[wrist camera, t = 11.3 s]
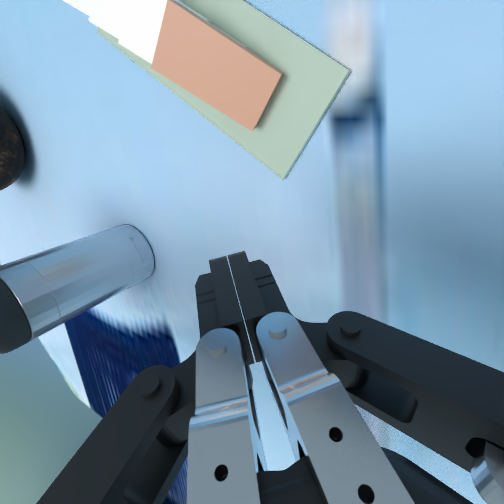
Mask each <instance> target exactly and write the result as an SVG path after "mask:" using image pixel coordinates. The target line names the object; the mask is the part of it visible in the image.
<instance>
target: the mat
mask: <svg viewBox="0 0 504 504" xmlns="http://www.w3.org/2000/svg"><path fill="white" fill-rule="evenodd" d="M179 1H180V2H182V3H184V4H185V5H187V6H188V7H190V8H191V9H193V10H195V11H196V12H198V13H199V14H201V15H202V16H204V17H206V18H207V19H209V20H210V21H211V24H213V25H214V26H216V27H217V28H219V29H220V30H222V31H223V32H225V33H226V34H228V35H229V36H231V37H232V38H234V39H235V40H237V41H238V42H240V43H241V44H243V45H244V46H246V48H247V49H249V50H250V51H252V52H253V53H255V54H256V55H258V56H259V57H261V58H262V59H264V60H265V61H267V62H268V63H270V64H271V65H273V66H274V67H276V68H277V69H279V70H280V71H282V72H283V75H282V77H281V79H280V81H279V83H278V85H277V87H276V89H275V91H274V93H273V95H272V97H271V99H270V101H269V103H268V105H267V106H266V108H265V110H264V112H263V114H262V116H261V118H260V120H259V122H258V124H257V126H256V128H255V129H254V130H253V131H251V130H249V129H247V128H246V127H244V126H243V125H241V124H239V123H238V122H236V121H235V120H233V119H231V118H230V117H228V116H227V115H225V114H223V113H222V112H220V111H219V110H217V109H215V108H214V107H212V106H211V105H209V104H207V103H206V102H204V101H203V100H201V99H199V98H198V97H196V96H195V95H193V94H191V93H190V92H188V91H187V90H185V89H183V88H182V87H180V86H179V85H177V84H176V83H174V82H172V81H171V80H169V79H168V78H166V77H164V76H163V75H161V74H160V73H158V72H156V71H155V70H153V69H152V68H151V66H152V64H151V63H149V62H147V61H146V60H144V59H143V58H141V57H139V56H138V55H136V54H135V53H133V52H131V51H130V50H128V49H127V48H125V47H123V46H122V45H120V44H118V42H119V39H118V38H116V37H114V36H113V35H111V34H109V33H108V32H106V31H104V30H103V29H101V28H99V27H98V34H100V35H101V36H102V37H103V38H105V39H106V40H107V41H109V42H110V43H111V44H112V45H114V46H115V47H116V48H117V49H119V50H120V51H121V52H122V53H124V54H125V55H126V56H127V57H129V58H130V59H131V60H132V61H134V62H135V63H136V64H138V65H139V66H140V67H141V68H143V69H144V70H145V71H146V72H148V73H149V74H150V75H151V76H153V77H154V78H155V79H156V80H158V81H159V82H160V83H162V84H163V85H164V86H165V87H167V88H168V89H169V90H170V91H172V92H173V93H174V94H175V95H177V96H178V97H179V98H180V99H182V100H183V101H184V102H185V103H187V104H188V105H189V106H191V107H192V108H193V109H194V110H196V111H197V112H198V113H199V114H201V115H202V116H203V117H204V118H206V119H207V120H208V121H209V122H211V123H212V124H213V125H215V126H216V127H217V128H218V129H220V130H221V131H222V132H223V133H225V134H226V135H227V136H228V137H230V138H231V139H232V140H233V141H235V142H236V143H237V144H239V145H240V146H241V147H242V148H244V149H245V150H246V151H247V152H249V153H250V154H251V155H252V156H254V157H255V158H256V159H257V160H259V161H260V162H261V163H262V164H264V165H265V166H266V167H268V168H269V169H270V170H271V171H273V172H274V173H275V174H276V175H278V176H279V177H280V178H281V179H286V177H287V175H288V174H289V172H290V171H291V169H292V167H293V166H294V164H295V162H296V161H297V159H298V158H299V156H300V154H301V153H302V151H303V149H304V148H305V146H306V144H307V143H308V141H309V140H310V138H311V136H312V135H313V133H314V131H315V130H316V128H317V127H318V125H319V123H320V122H321V120H322V118H323V117H324V115H325V113H326V112H327V110H328V109H329V107H330V105H331V104H332V102H333V100H334V99H335V97H336V95H337V94H338V92H339V91H340V89H341V87H342V86H343V84H344V82H345V81H346V79H347V78H348V76H349V74H350V73H351V71H350V70H348V69H347V68H345V67H344V66H342V65H341V64H339V63H338V62H336V61H335V60H333V59H332V58H330V57H329V56H327V55H326V54H324V53H323V52H321V51H320V50H318V49H317V48H315V47H314V46H312V45H310V44H309V43H307V42H306V41H304V40H303V39H301V38H300V37H298V36H297V35H295V34H294V33H292V32H291V31H289V30H288V29H286V28H285V27H283V26H282V25H280V24H279V23H277V22H276V21H274V20H273V19H271V18H270V17H268V16H267V15H265V14H263V13H262V12H260V11H259V10H257V9H256V8H254V7H253V6H251V5H250V4H248V3H247V2H245V1H244V0H179Z"/></svg>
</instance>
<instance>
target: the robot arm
mask: <svg viewBox="0 0 504 504" xmlns="http://www.w3.org/2000/svg"><path fill="white" fill-rule="evenodd" d="M228 259H229V263H230V267H231V271H232V275H233V279H234V283H235V286H236V290H237V294H238V298H239V301H240V305H241V309H242V312H243V316H244V320H245V323H246V327H247V330H248V334H249V338H250V341H251V345H252V349H253V352H254V356H255V360H256V362H259V361H262V363H263V367H264V370H265V374H266V378H267V382H268V385H269V387H270V390H271V393H272V395H273V398H274V401H275V403H276V406H277V408H278V411H279V414H280V416H281V419H282V422H283V424H284V427H285V430H286V432H287V435H288V438H289V441H290V444H291V448H292V451H293V454H294V457H295V460H296V462H295V463H294V464H293V465H291V466H290V467H289V468H287V469H285V470H282V471H268V469H267V464H266V459H265V454H264V450H263V445H262V439H261V433H260V427H259V421H258V414H257V408H256V402H255V396H254V390H253V385H252V384H253V379H252V374H251V370H250V366H249V365H250V364H253V363H254V359H253V355H252V351H251V348H250V344H249V340H248V336H247V332H246V328H245V324H244V320H243V317H242V313H241V309H240V306H239V302H238V298H237V294H236V291H235V287H234V283H233V280H232V276H231V272H230V268H229V265H228V261H227V257H226V256H224V257H220V258H216V259H212V260H209V264H210V269H211V273H208V274H204V275H200V276H199V278H198V280H197V282H196V285H195V289H196V299H197V309H198V319H199V329H200V340H199V342H198V344H197V347H196V350H195V352H194V353H193V354H192V355H191V356H190V357H189V358H188V359H186V360H185V361H183V362H182V363H180V364H178V365H177V366H175V367H174V368H172V369H170V368H168V367H167V366H163V365H155V366H151V367H149V368H147V369H145V370H143V371H142V372H140V373H139V374H138V375H137V376H136V377H135V378H134V379H133V380H132V382H131V383H130V384H129V386H128V387H127V388H126V389H125V391H124V392H123V393H122V395H121V396H120V397H119V398H118V400H117V401H116V402H115V404H114V405H113V406H112V407H111V409H110V410H109V411H108V413H107V414H106V415H105V416H104V418H103V419H102V420H101V421H100V423H99V424H98V425H97V427H96V428H95V429H94V430H93V432H92V433H91V434H90V436H89V437H88V438H87V440H86V441H85V442H84V444H83V445H82V446H81V447H80V448H79V450H78V451H77V452H76V454H75V455H74V456H73V457H72V459H71V460H70V461H69V462H68V464H67V465H66V466H65V468H64V469H63V470H62V471H61V473H60V474H59V476H58V477H57V478H56V479H55V480H54V482H53V483H52V484H51V486H50V487H49V488H48V489H47V491H46V492H45V493H44V495H43V496H42V497H41V498H40V500H39V501H38V502H37V504H162V503H163V501H164V499H165V497H166V495H167V493H168V491H169V489H170V488H171V486H172V484H173V482H174V480H175V478H176V476H177V474H178V472H179V471H180V469H181V467H182V465H183V463H184V461H185V459H186V457H187V455H188V477H187V504H473V503H472V502H470V501H469V500H467V499H466V498H464V497H463V496H461V495H460V494H459V493H457V492H456V491H454V490H453V489H451V488H450V487H448V486H447V485H445V484H444V483H442V482H441V481H439V480H438V479H437V478H435V477H434V476H432V475H431V474H429V473H428V472H426V471H425V470H423V469H422V468H420V467H419V466H418V465H416V464H415V463H413V462H412V461H410V460H408V459H407V458H405V457H403V456H402V455H400V454H398V453H396V452H394V451H391V450H389V449H386V448H383V447H380V446H379V444H378V442H377V441H376V439H375V437H374V436H373V434H372V432H371V431H370V429H369V427H368V426H367V424H366V422H365V421H364V419H363V418H362V416H361V414H360V413H359V411H358V409H357V408H356V406H355V404H356V405H358V406H359V407H361V408H363V409H364V410H366V411H368V412H369V413H371V414H373V415H374V416H376V417H378V418H379V419H381V420H383V421H384V422H386V423H388V424H389V425H391V426H393V427H394V428H396V429H398V430H399V431H401V432H403V433H404V434H406V435H408V436H410V437H411V438H413V439H415V440H416V441H418V442H420V443H421V444H423V445H425V446H426V447H428V448H430V449H431V450H433V451H435V452H436V453H438V454H440V455H441V456H443V457H445V458H446V459H448V460H450V461H451V462H453V463H455V464H456V465H458V466H460V467H461V468H463V469H465V470H466V471H468V472H470V473H471V476H472V480H473V483H474V485H475V488H476V489H477V491H478V493H479V494H480V496H481V497H482V499H483V500H484V501H485V502H486V503H487V504H504V372H501V371H499V370H496V369H494V368H492V367H489V366H487V365H484V364H482V363H479V362H477V361H474V360H472V359H470V358H467V357H465V356H462V355H460V354H457V353H455V352H452V351H450V350H448V349H445V348H443V347H440V346H438V345H435V344H433V343H430V342H428V341H426V340H423V339H421V338H418V337H416V336H413V335H411V334H408V333H406V332H404V331H401V330H399V329H396V328H394V327H391V326H389V325H386V324H384V323H382V322H379V321H377V320H374V319H372V318H369V317H367V316H364V315H362V314H360V313H357V312H352V311H343V312H339V313H336V314H334V315H333V316H332V317H331V318H330V319H329V321H328V323H309V322H304V321H301V320H299V319H297V318H295V317H294V316H293V315H292V314H291V313H290V312H289V310H288V308H287V306H286V303H285V301H284V299H283V297H282V295H281V292H280V290H279V288H278V286H277V284H276V281H275V279H274V277H273V275H272V273H271V270H270V268H269V266H268V265H267V264H265V263H264V262H263V261H261V260H256V261H252V262H249V261H248V259H247V256H246V253H245V251H242V252H239V253H235V254H231V255H228ZM153 270H154V257H153V253H152V250H151V248H150V246H149V244H148V242H147V240H146V239H145V238H144V236H143V235H142V234H141V233H140V232H139V231H138V230H137V229H135V228H134V227H132V226H130V225H121V226H118V227H115V228H112V229H109V230H106V231H103V232H100V233H97V234H94V235H91V236H88V237H85V238H82V239H79V240H76V241H73V242H70V243H67V244H64V245H61V246H58V247H55V248H52V249H49V250H46V251H43V252H40V253H37V254H34V255H31V256H28V257H25V258H22V259H19V260H16V261H13V262H10V263H7V264H4V265H1V266H0V353H1V354H3V353H8V352H10V351H13V350H14V349H17V348H18V347H20V346H22V345H24V344H26V343H28V342H29V341H31V340H33V339H35V338H37V337H39V336H41V335H42V334H44V333H46V332H48V331H50V330H52V329H53V328H55V327H57V326H59V325H61V324H62V323H64V322H66V321H68V320H70V319H72V318H74V317H75V316H77V315H79V314H81V313H83V312H85V311H87V310H88V309H90V308H92V307H94V306H96V305H98V304H100V303H101V302H103V301H105V300H107V299H109V298H111V297H113V296H114V295H116V294H118V293H120V292H122V291H124V290H126V289H128V288H130V287H131V286H133V285H135V284H137V283H139V282H141V281H142V280H144V279H146V278H148V277H149V276H151V275H152V273H153Z"/></svg>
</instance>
